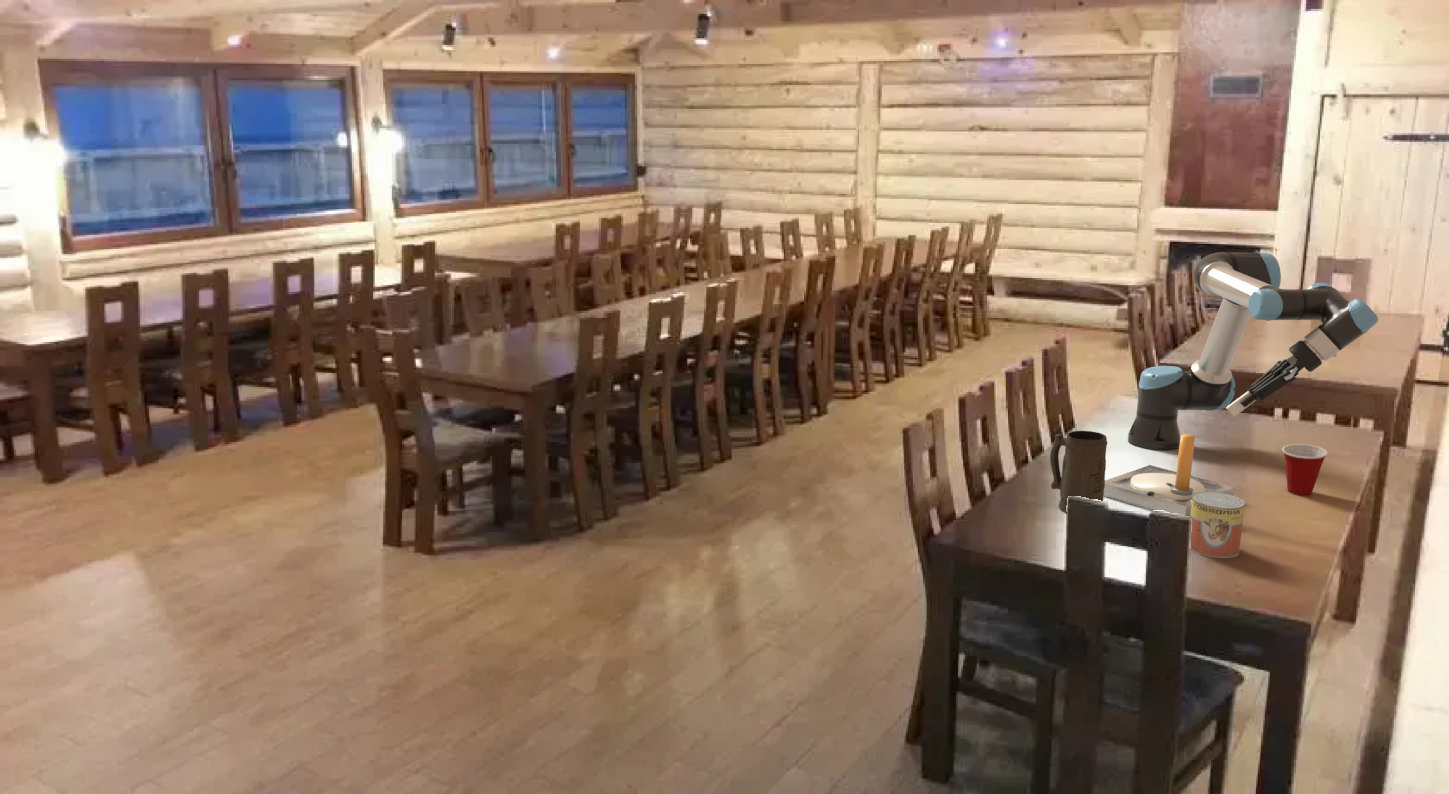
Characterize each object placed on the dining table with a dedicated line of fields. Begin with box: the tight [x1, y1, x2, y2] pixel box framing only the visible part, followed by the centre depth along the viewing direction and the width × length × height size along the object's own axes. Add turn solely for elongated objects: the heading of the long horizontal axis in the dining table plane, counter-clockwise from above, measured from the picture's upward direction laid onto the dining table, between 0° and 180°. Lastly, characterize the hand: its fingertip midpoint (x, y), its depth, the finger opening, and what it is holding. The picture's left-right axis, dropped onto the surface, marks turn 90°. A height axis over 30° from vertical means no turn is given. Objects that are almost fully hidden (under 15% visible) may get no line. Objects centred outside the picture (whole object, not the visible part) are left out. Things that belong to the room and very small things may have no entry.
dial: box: [1130, 433, 1204, 500], centre depth 294 cm, size 19×18×16 cm
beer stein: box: [1049, 430, 1108, 513], centre depth 287 cm, size 15×11×20 cm
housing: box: [1103, 464, 1235, 516], centre depth 296 cm, size 24×24×4 cm
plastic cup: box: [1281, 443, 1329, 496], centre depth 300 cm, size 11×11×12 cm
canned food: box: [1189, 492, 1246, 559], centre depth 261 cm, size 11×11×12 cm
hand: (1230, 412), depth 281 cm, fingers closed
